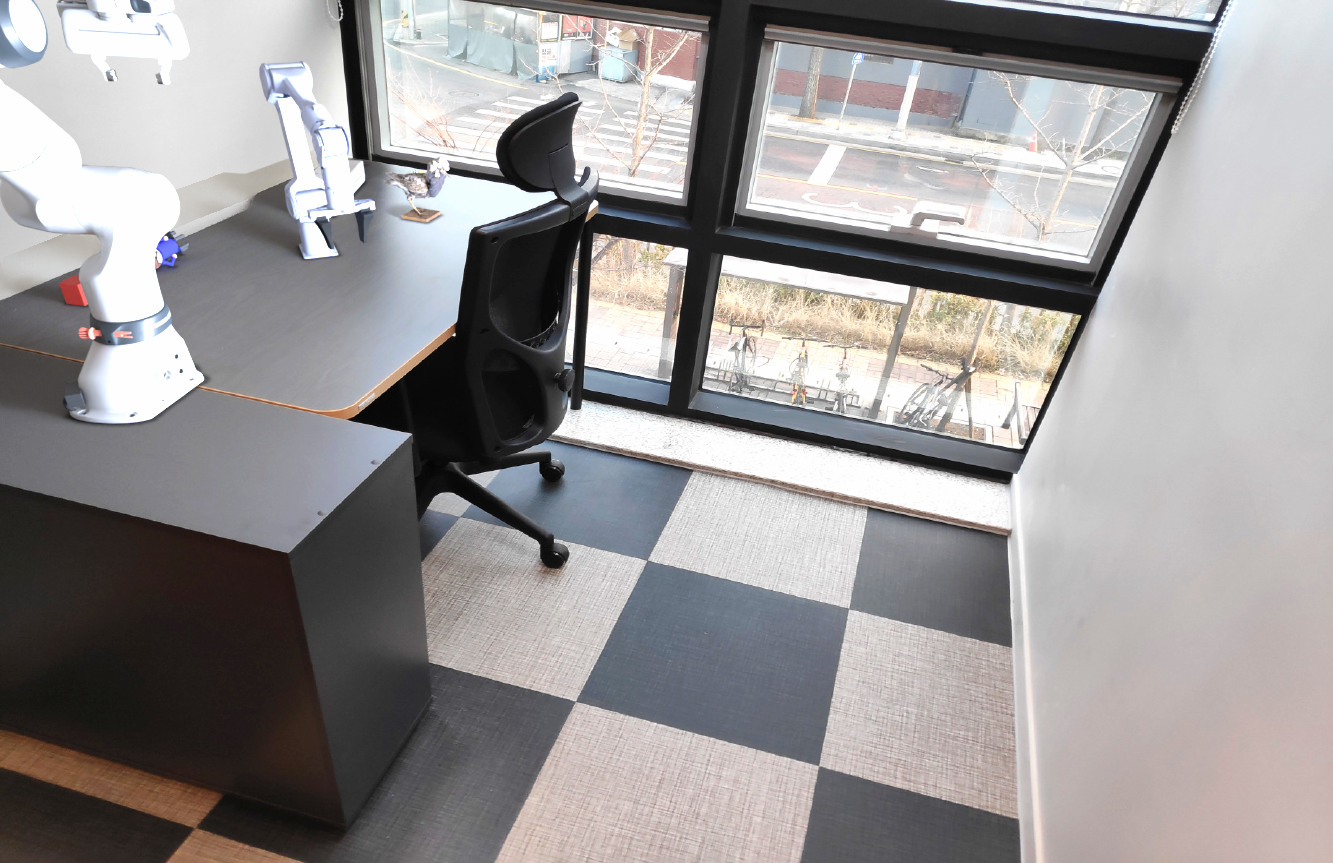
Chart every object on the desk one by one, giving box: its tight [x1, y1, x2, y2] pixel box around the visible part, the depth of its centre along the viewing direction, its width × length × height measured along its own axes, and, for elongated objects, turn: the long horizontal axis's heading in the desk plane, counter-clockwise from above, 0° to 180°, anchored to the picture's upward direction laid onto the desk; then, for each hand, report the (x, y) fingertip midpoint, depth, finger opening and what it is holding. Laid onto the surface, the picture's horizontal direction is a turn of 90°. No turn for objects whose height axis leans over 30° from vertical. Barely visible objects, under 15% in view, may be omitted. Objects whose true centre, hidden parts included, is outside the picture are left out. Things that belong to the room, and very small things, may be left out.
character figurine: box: [154, 230, 190, 270], centre depth 191 cm, size 8×7×15 cm
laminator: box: [297, 159, 366, 217], centre depth 238 cm, size 34×12×6 cm, turn 2°
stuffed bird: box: [383, 156, 454, 223], centre depth 226 cm, size 10×20×17 cm, turn 93°
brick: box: [58, 274, 88, 307], centre depth 174 cm, size 4×4×5 cm
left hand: (138, 82), depth 152 cm, fingers open, 8 cm apart
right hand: (347, 244), depth 186 cm, fingers open, 7 cm apart
